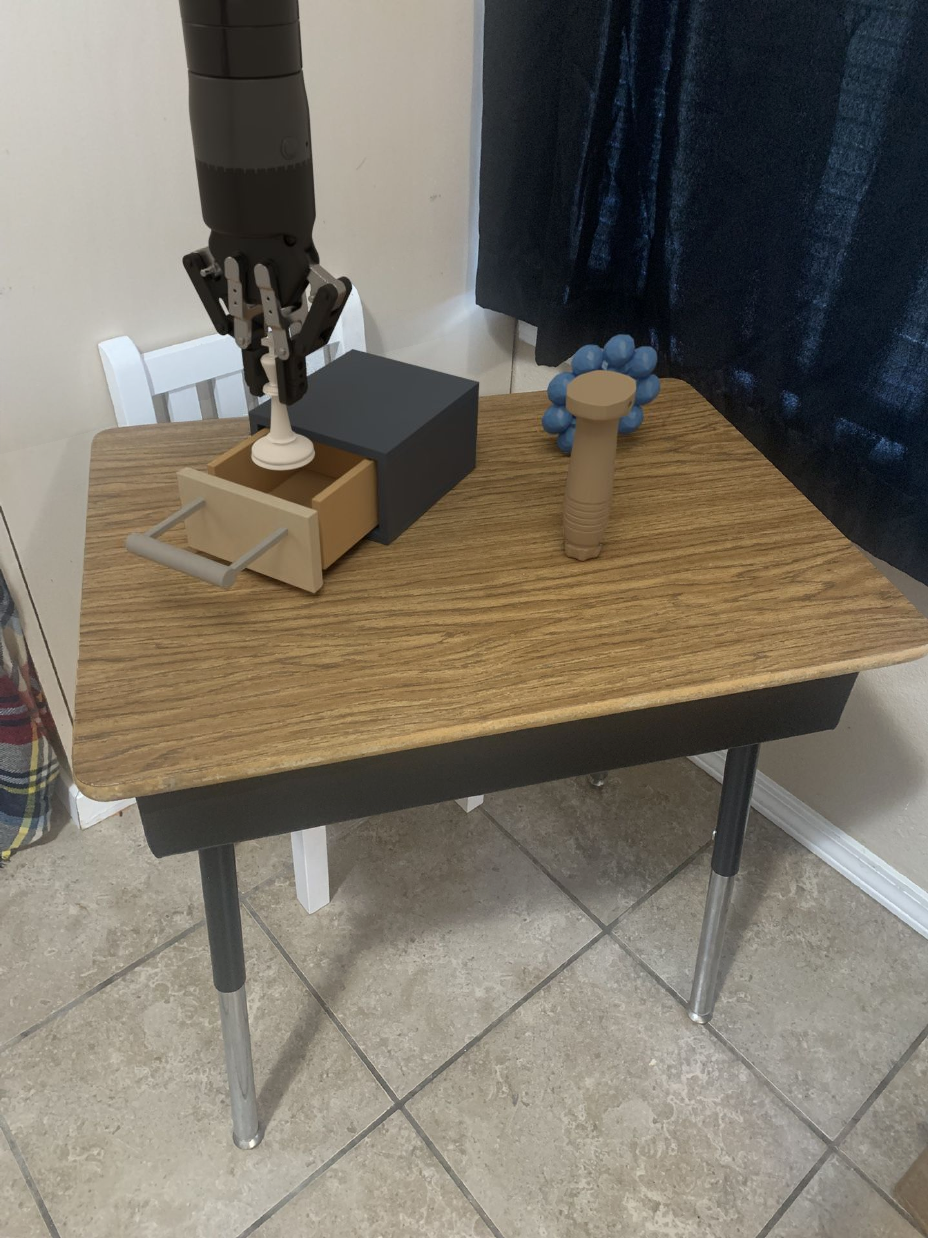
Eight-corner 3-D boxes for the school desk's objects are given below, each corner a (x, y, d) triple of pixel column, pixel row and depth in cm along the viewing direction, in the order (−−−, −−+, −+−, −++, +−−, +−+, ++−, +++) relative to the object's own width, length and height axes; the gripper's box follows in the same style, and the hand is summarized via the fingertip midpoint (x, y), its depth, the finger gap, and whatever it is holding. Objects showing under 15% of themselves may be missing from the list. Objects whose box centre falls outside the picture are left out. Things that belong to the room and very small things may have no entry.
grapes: (634, 427, 102) (651, 314, 94) (659, 458, 97) (679, 341, 89) (526, 436, 99) (535, 321, 92) (546, 469, 94) (557, 350, 87)
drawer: (250, 648, 70) (239, 570, 66) (119, 595, 75) (101, 518, 71) (411, 508, 86) (411, 437, 82) (295, 470, 91) (289, 402, 86)
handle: (622, 542, 84) (647, 379, 75) (591, 579, 80) (614, 411, 71) (571, 526, 86) (590, 365, 77) (538, 561, 82) (554, 395, 73)
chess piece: (275, 435, 79) (263, 314, 73) (326, 449, 78) (319, 327, 72) (238, 461, 76) (222, 336, 70) (291, 476, 74) (280, 350, 68)
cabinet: (388, 545, 83) (386, 453, 78) (258, 501, 88) (247, 411, 83) (476, 467, 94) (479, 381, 89) (356, 431, 99) (352, 348, 94)
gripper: (375, 152, 63) (381, 399, 74) (208, 123, 68) (236, 359, 79) (306, 176, 58) (323, 439, 69) (131, 144, 63) (172, 393, 74)
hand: (277, 395), depth 74 cm, fingers closed on chess piece
